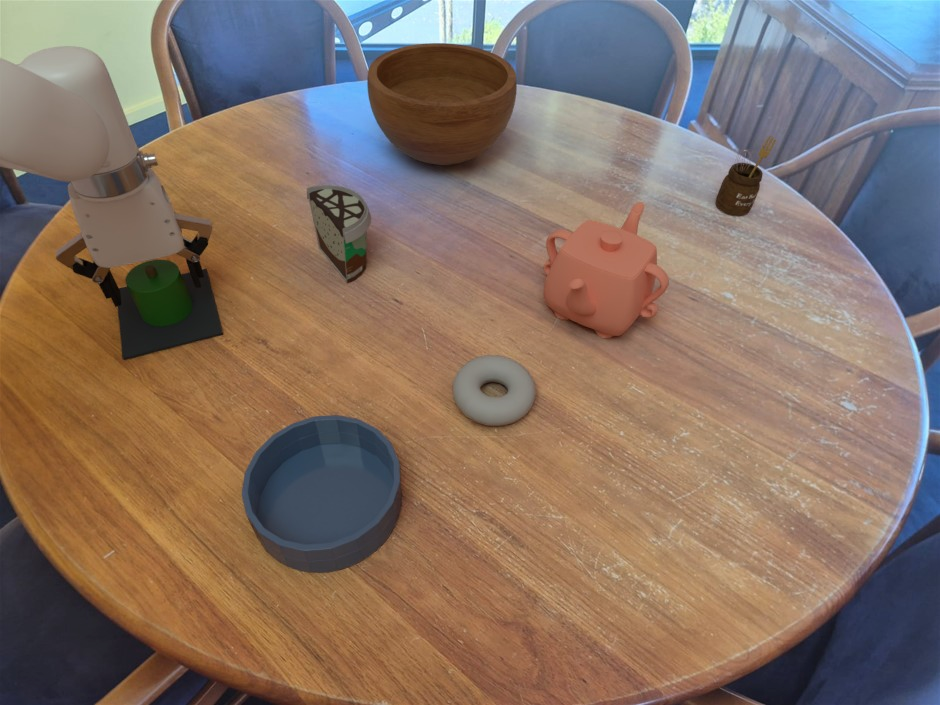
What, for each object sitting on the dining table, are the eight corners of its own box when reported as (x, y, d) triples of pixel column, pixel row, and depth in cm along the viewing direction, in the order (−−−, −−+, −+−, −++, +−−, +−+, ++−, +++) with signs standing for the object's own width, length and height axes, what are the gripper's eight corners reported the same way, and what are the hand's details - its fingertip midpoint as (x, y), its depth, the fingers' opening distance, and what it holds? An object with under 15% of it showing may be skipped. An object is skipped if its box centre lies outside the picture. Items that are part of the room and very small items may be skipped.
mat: (123, 360, 77) (122, 358, 77) (116, 290, 86) (115, 288, 85) (223, 334, 81) (222, 332, 80) (207, 270, 89) (206, 268, 89)
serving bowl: (271, 598, 58) (259, 575, 54) (241, 468, 67) (229, 442, 63) (423, 538, 62) (422, 514, 59) (375, 425, 72) (372, 398, 68)
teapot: (556, 357, 80) (572, 282, 71) (527, 274, 91) (537, 201, 82) (665, 346, 82) (694, 272, 73) (624, 267, 93) (644, 194, 84)
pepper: (144, 331, 80) (123, 289, 75) (139, 300, 84) (119, 258, 79) (195, 318, 82) (179, 277, 77) (189, 289, 86) (173, 247, 80)
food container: (390, 274, 90) (386, 216, 83) (352, 289, 88) (344, 231, 80) (351, 231, 97) (344, 174, 90) (315, 243, 94) (305, 186, 87)
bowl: (409, 207, 102) (406, 119, 91) (352, 138, 116) (343, 56, 105) (536, 172, 111) (547, 89, 100) (468, 113, 125) (471, 34, 114)
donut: (545, 385, 77) (473, 356, 80) (550, 367, 75) (475, 338, 77) (514, 445, 71) (437, 411, 73) (517, 427, 68) (437, 393, 71)
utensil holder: (706, 202, 106) (731, 137, 97) (732, 193, 109) (759, 129, 100) (732, 220, 103) (759, 155, 94) (758, 211, 105) (788, 145, 96)
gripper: (186, 142, 73) (222, 258, 85) (18, 169, 67) (84, 288, 80) (194, 174, 68) (232, 291, 81) (16, 206, 63) (85, 326, 75)
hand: (158, 290), depth 80 cm, fingers open, 9 cm apart
